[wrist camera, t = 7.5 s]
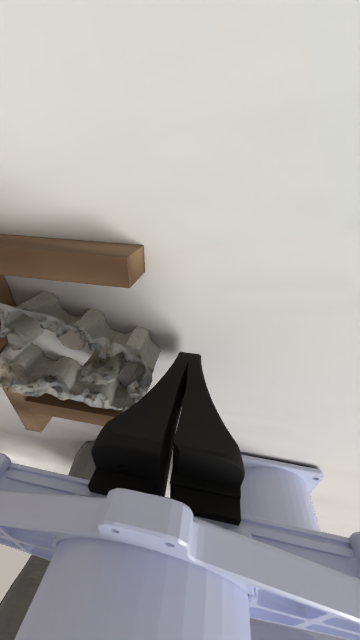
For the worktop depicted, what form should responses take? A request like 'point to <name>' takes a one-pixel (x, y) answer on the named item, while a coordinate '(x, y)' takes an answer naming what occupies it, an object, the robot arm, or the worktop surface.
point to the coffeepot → (36, 564)
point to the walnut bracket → (71, 266)
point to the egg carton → (67, 374)
